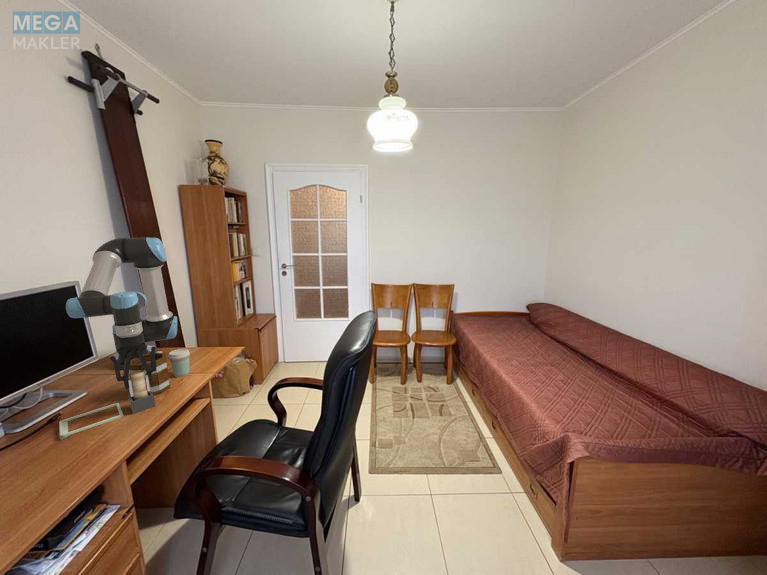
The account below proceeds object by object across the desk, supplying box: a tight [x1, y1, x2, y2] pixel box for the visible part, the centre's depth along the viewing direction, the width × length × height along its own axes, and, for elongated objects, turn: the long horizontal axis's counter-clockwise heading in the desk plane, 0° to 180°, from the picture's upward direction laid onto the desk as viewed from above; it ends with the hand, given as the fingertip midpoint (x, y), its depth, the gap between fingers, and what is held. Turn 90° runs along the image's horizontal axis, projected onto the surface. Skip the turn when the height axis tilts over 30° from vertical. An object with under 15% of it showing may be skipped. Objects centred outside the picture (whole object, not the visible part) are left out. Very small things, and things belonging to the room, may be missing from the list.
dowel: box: [129, 370, 148, 400], centre depth 116 cm, size 4×4×14 cm
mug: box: [129, 350, 171, 397], centre depth 131 cm, size 20×14×15 cm
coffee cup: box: [167, 348, 191, 378], centre depth 142 cm, size 8×8×12 cm
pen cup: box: [127, 390, 156, 415], centre depth 117 cm, size 7×7×6 cm
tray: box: [58, 402, 124, 441], centre depth 109 cm, size 12×16×1 cm
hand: (140, 392), depth 116 cm, fingers closed on dowel, 4 cm apart
